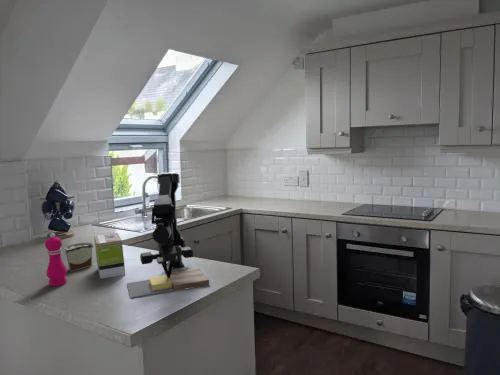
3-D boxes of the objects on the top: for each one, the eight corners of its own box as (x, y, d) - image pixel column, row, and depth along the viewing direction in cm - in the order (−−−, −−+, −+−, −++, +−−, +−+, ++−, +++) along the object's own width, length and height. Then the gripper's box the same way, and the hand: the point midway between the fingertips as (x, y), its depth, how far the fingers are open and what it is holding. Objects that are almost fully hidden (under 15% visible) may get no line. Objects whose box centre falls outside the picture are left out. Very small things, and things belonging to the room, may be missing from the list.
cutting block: (167, 278, 169) (166, 273, 169) (199, 273, 173) (199, 268, 173) (173, 291, 155) (173, 285, 155) (209, 285, 159) (209, 279, 159)
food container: (89, 262, 196) (86, 240, 195) (95, 265, 192) (93, 242, 191) (61, 269, 188) (59, 247, 186) (67, 272, 183) (64, 249, 182)
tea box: (97, 269, 186) (93, 235, 184) (121, 265, 190) (118, 232, 188) (99, 279, 172) (96, 242, 170) (125, 274, 176) (122, 239, 174)
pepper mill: (70, 279, 173) (65, 230, 171) (63, 286, 166) (58, 234, 164) (52, 280, 173) (46, 231, 171) (44, 287, 166) (38, 236, 163)
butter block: (149, 282, 163) (148, 277, 163) (167, 279, 166) (167, 274, 166) (152, 290, 155) (152, 285, 155) (172, 287, 157) (171, 281, 157)
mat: (127, 284, 164) (126, 283, 164) (166, 278, 169) (166, 276, 169) (130, 298, 149) (130, 297, 149) (174, 291, 154) (174, 290, 154)
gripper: (141, 245, 149) (145, 288, 151) (195, 237, 155) (198, 280, 157) (138, 238, 159) (141, 279, 161) (188, 231, 165) (191, 271, 167)
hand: (168, 277), depth 161 cm, fingers closed
